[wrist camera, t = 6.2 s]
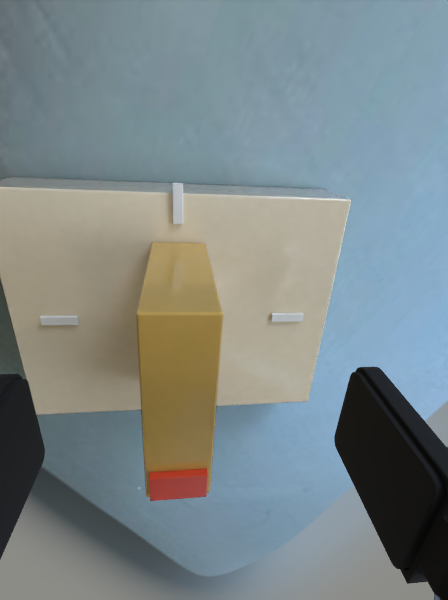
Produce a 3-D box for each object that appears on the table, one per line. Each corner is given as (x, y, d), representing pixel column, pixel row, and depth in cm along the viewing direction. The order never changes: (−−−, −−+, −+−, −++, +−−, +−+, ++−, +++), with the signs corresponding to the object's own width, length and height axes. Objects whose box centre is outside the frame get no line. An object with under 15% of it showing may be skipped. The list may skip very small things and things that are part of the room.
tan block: (151, 241, 12) (134, 318, 7) (205, 242, 13) (225, 318, 8) (155, 381, 15) (145, 505, 10) (199, 379, 16) (211, 501, 11)
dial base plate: (327, 180, 15) (356, 190, 12) (292, 375, 20) (308, 409, 17) (7, 167, 13) (-30, 175, 11) (53, 384, 18) (34, 423, 15)
